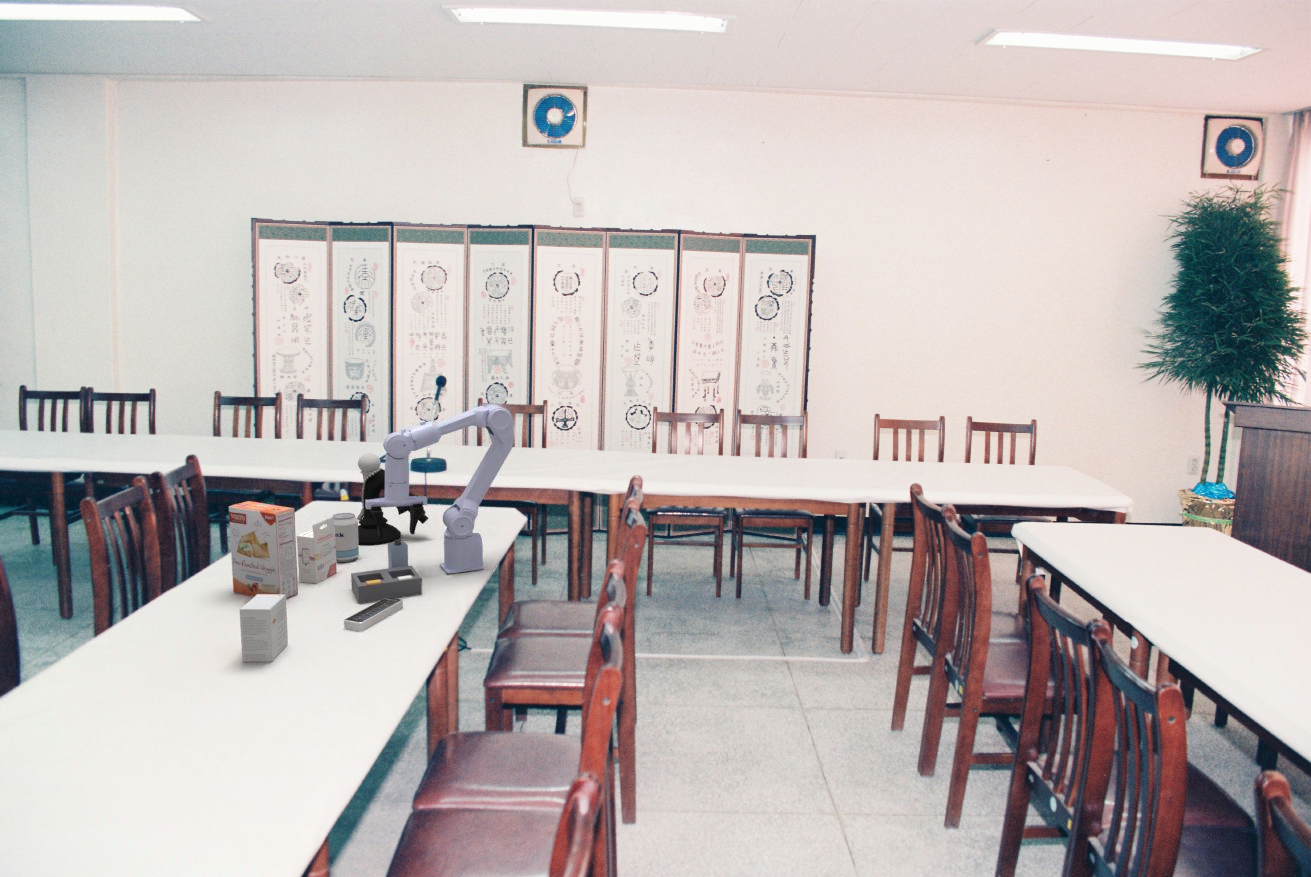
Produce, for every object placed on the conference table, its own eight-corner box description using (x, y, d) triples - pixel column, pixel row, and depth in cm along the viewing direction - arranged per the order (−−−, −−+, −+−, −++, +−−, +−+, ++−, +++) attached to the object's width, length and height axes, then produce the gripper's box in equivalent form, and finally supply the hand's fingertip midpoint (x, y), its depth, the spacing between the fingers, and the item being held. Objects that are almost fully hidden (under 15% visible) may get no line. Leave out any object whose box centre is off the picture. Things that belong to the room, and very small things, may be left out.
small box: (259, 644, 151) (257, 593, 150) (288, 644, 152) (286, 593, 150) (241, 662, 144) (238, 608, 142) (272, 662, 144) (269, 609, 142)
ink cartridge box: (319, 571, 194) (317, 514, 192) (337, 573, 193) (335, 516, 191) (297, 582, 186) (295, 523, 184) (316, 584, 185) (313, 525, 183)
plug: (404, 571, 196) (404, 537, 195) (408, 576, 193) (407, 541, 191) (388, 573, 194) (387, 539, 193) (391, 578, 191) (391, 543, 189)
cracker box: (231, 593, 177) (226, 505, 174) (253, 585, 183) (249, 499, 180) (278, 603, 173) (274, 512, 169) (299, 594, 178) (295, 506, 175)
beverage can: (324, 561, 202) (323, 516, 200) (344, 554, 208) (343, 511, 206) (345, 565, 199) (343, 520, 198) (364, 557, 206) (363, 514, 204)
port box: (411, 581, 189) (411, 564, 189) (421, 594, 181) (421, 576, 180) (351, 589, 182) (351, 572, 182) (358, 603, 174) (358, 585, 173)
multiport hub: (343, 630, 160) (343, 619, 160) (387, 606, 174) (386, 596, 174) (361, 633, 159) (360, 623, 159) (403, 609, 173) (403, 599, 172)
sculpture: (358, 529, 232) (356, 448, 228) (436, 533, 231) (435, 451, 227) (336, 544, 216) (333, 457, 213) (419, 548, 216) (418, 460, 212)
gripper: (422, 476, 197) (421, 528, 199) (363, 479, 189) (362, 533, 191) (429, 482, 191) (428, 535, 193) (368, 485, 183) (368, 540, 185)
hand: (396, 534), depth 192 cm, fingers open, 7 cm apart
